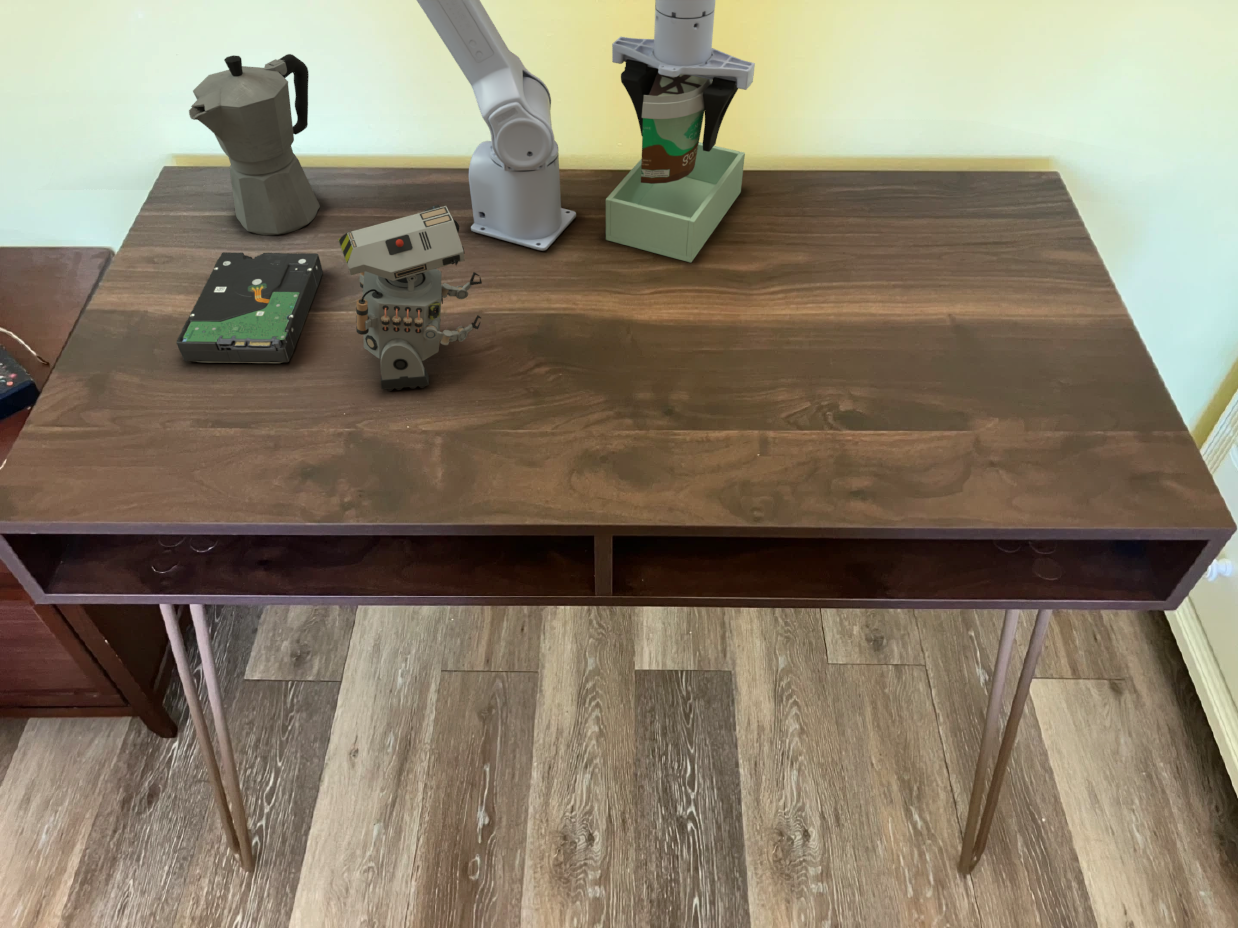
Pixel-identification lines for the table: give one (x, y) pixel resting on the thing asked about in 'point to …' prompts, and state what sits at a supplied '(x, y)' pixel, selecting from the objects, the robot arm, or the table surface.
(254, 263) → the disk drive
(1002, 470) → the table surface
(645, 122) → the food container
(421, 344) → the figurine
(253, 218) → the coffeepot
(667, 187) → the storage bin
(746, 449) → the table surface
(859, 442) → the table surface
